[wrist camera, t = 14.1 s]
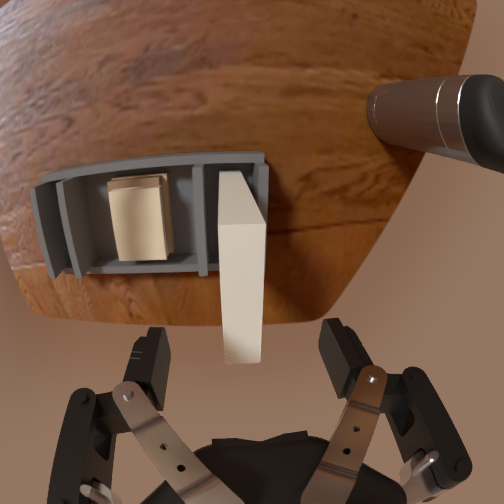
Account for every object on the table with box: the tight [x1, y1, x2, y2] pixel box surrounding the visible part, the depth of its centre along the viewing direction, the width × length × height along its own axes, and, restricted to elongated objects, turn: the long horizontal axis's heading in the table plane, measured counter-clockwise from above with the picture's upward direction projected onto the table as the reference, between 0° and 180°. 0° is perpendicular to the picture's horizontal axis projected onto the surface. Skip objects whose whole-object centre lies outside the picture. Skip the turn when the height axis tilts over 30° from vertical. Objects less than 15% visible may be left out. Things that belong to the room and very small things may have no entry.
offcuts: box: [107, 171, 175, 261], centre depth 31 cm, size 7×10×4 cm
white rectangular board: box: [218, 170, 266, 364], centre depth 25 cm, size 2×10×20 cm, turn 179°
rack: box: [29, 151, 269, 279], centre depth 30 cm, size 28×14×7 cm, turn 89°
